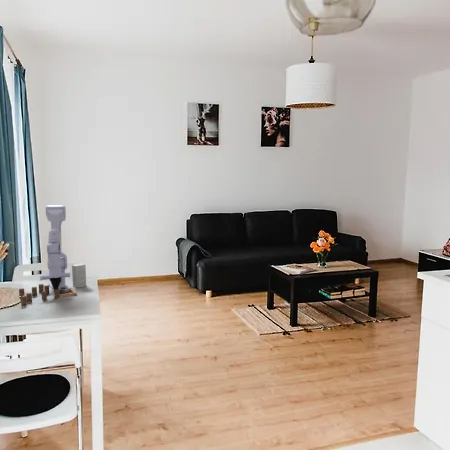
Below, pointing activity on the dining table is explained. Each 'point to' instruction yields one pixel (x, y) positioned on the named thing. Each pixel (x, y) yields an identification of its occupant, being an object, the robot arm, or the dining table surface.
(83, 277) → the skincare box
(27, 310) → the dining table surface
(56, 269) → the robot arm
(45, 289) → the walnut spacers
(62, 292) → the steel nut
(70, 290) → the parts bay
